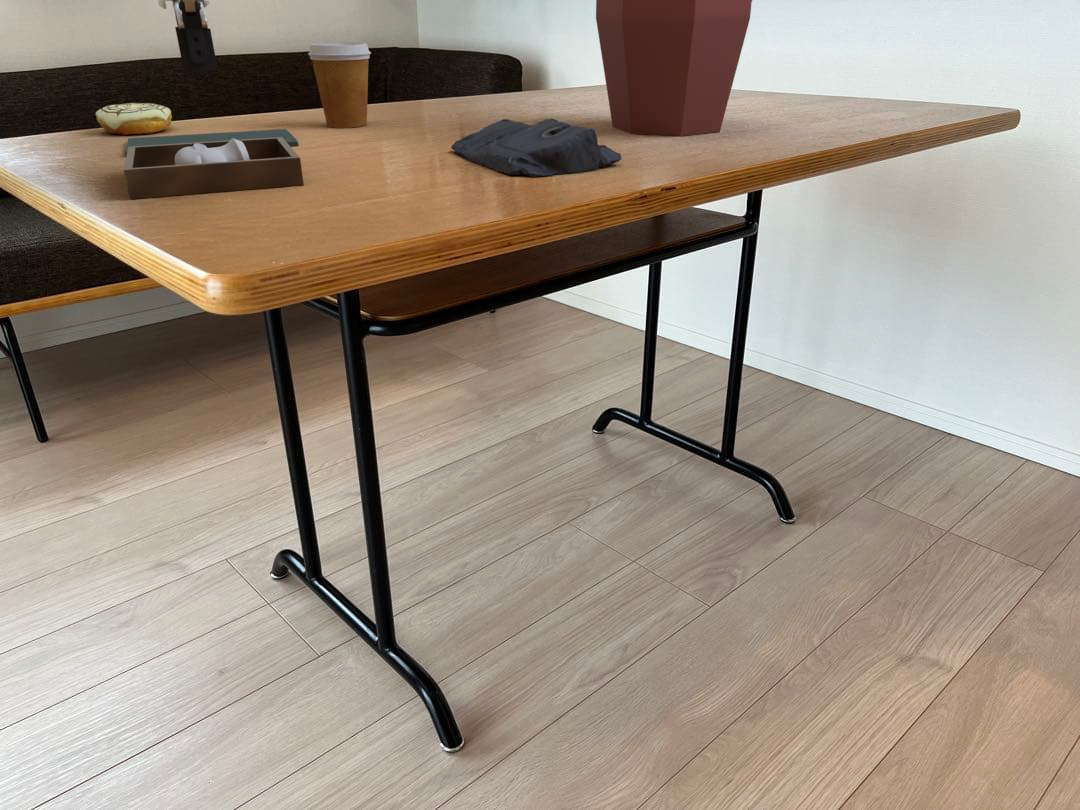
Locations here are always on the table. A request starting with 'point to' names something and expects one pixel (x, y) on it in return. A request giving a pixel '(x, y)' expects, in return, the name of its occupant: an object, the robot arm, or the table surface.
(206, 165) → the brown rectangular tray
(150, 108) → the decorated donut
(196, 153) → the smooth white sculpture
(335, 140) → the table surface
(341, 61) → the disposable coffee cup
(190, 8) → the robot arm
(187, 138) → the mat
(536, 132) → the dark folded cloth
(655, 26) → the bucket
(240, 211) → the table surface
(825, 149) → the table surface
